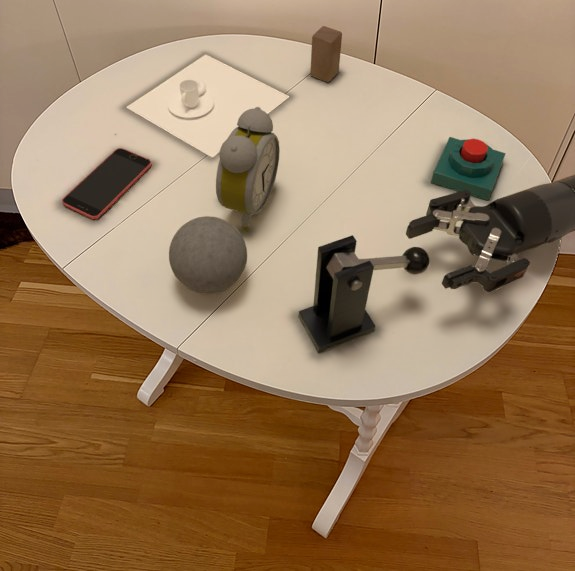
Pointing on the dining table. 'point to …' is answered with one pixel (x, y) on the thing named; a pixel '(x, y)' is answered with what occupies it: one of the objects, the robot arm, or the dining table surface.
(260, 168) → the alarm clock
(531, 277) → the dining table surface
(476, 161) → the button
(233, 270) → the decorative ball
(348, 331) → the bracket
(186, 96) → the teacup and saucer
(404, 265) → the lever
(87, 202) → the smartphone
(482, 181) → the button block
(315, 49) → the wooden block
